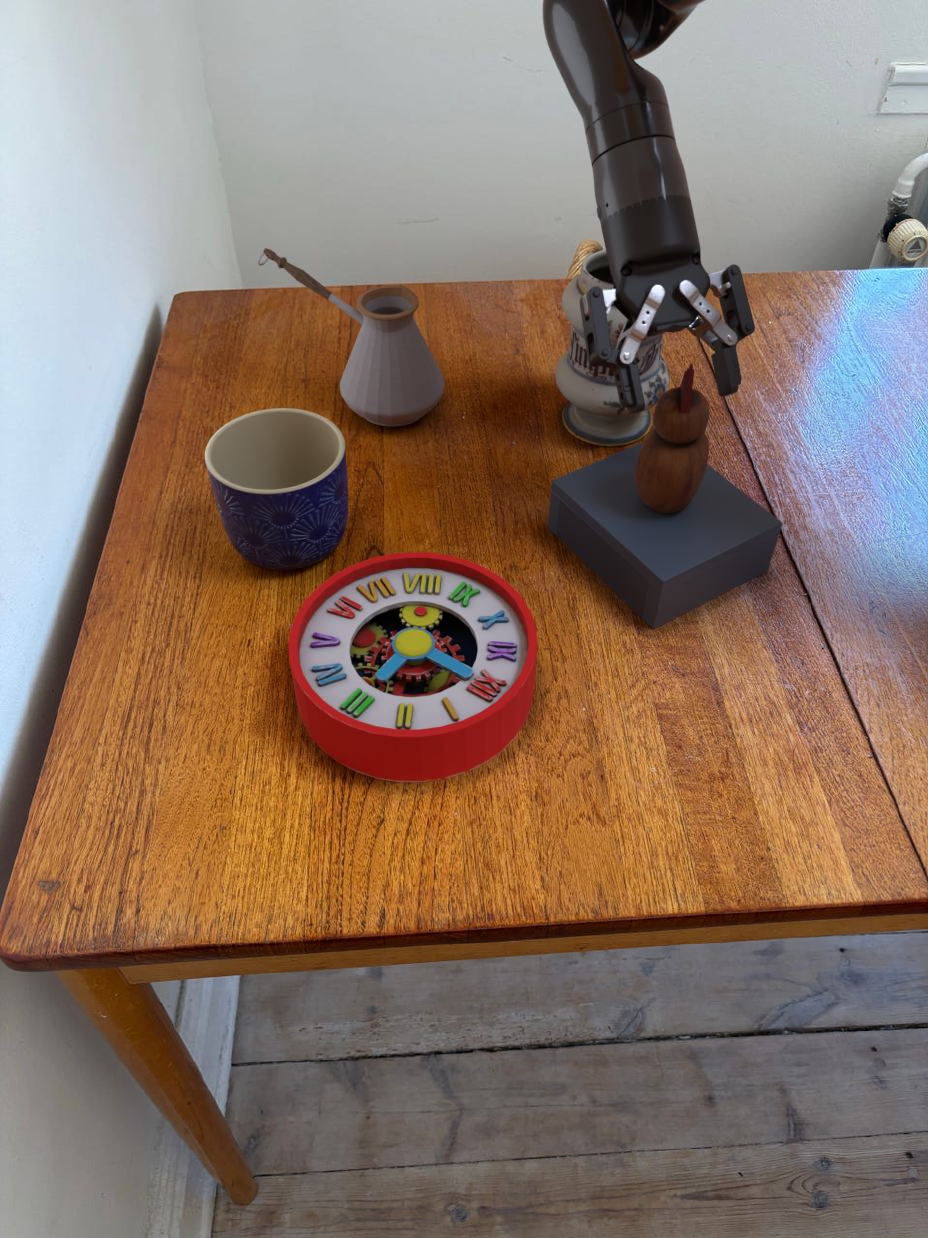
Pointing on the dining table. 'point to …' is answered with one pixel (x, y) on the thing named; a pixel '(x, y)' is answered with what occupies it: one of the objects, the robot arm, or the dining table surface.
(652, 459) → the wooden figurine
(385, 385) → the coffee pot
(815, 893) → the dining table surface
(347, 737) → the toy clock
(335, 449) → the planter
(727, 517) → the grey display pedestal
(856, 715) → the dining table surface
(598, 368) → the apothecary jar
